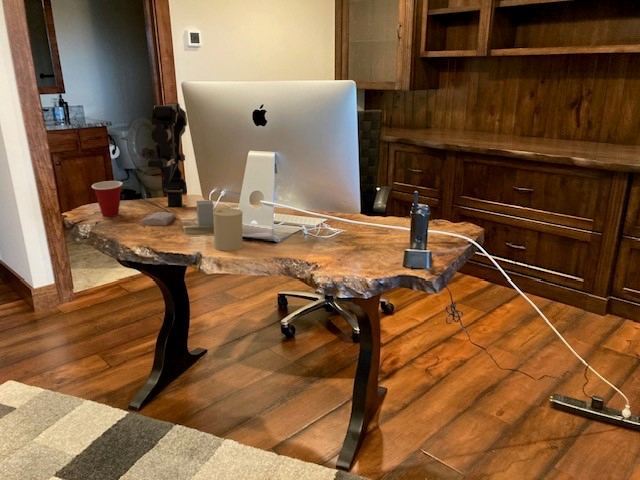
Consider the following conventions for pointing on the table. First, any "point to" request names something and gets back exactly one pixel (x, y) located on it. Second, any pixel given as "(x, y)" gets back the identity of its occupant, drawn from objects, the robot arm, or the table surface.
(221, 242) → the can
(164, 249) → the table surface
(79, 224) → the table surface
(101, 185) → the plastic cup
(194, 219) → the trap board
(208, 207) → the slate block
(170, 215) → the stone block
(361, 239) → the table surface
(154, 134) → the robot arm
